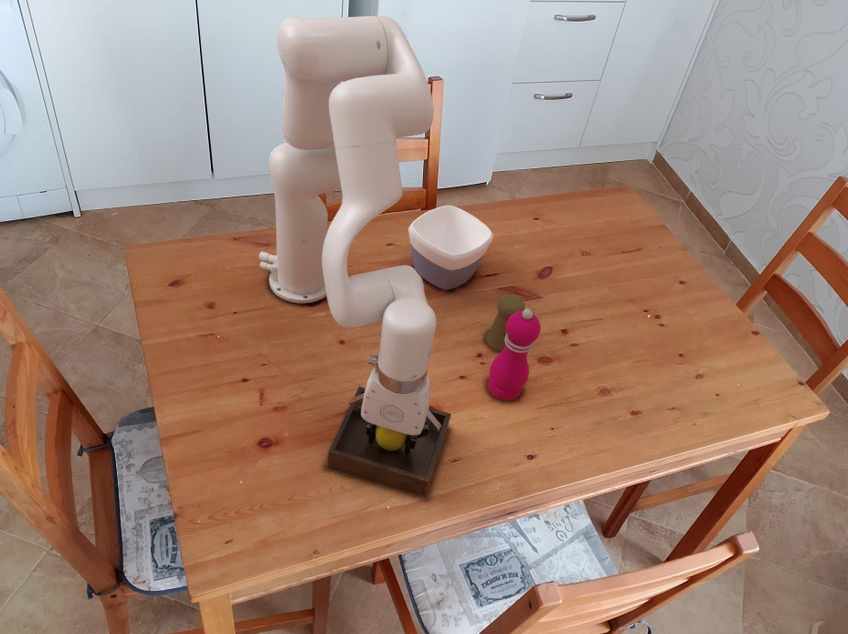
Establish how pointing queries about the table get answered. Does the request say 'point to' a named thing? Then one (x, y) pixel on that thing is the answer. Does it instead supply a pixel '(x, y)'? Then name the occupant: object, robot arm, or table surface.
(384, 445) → the lemon
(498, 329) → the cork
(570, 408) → the table surface
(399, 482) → the dark wooden tray
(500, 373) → the pepper mill
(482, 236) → the bowl
